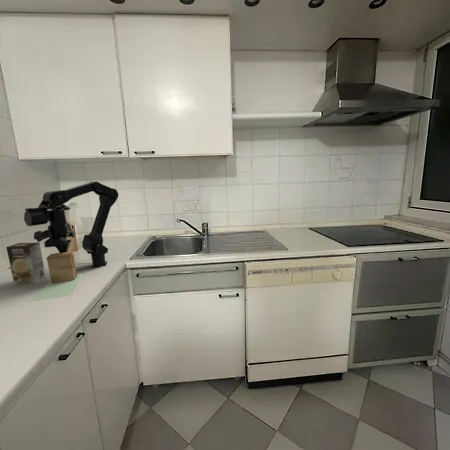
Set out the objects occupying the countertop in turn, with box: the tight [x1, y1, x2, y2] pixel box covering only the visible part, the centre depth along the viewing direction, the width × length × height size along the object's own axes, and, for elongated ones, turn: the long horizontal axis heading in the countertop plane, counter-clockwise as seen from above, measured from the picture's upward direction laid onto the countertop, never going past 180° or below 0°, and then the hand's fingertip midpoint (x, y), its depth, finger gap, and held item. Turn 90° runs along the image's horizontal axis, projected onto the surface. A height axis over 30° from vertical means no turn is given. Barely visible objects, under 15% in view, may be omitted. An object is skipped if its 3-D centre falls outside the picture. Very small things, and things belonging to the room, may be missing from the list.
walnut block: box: [46, 250, 78, 284], centre depth 97 cm, size 5×8×11 cm, turn 110°
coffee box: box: [5, 241, 46, 285], centre depth 98 cm, size 9×6×16 cm
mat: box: [30, 272, 85, 302], centre depth 93 cm, size 22×12×1 cm, turn 20°
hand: (64, 257), depth 101 cm, fingers closed
